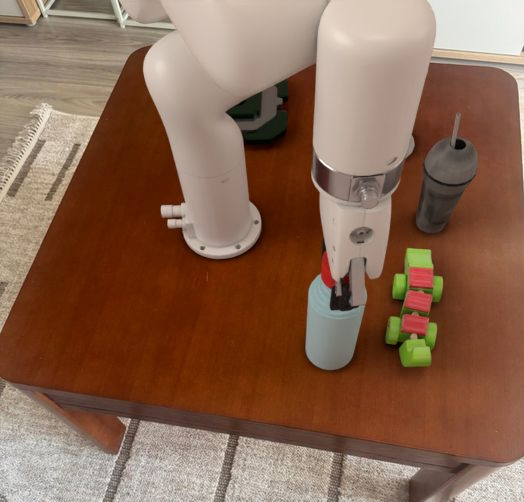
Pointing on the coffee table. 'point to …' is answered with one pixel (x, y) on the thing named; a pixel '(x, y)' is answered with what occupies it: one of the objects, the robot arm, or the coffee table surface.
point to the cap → (329, 273)
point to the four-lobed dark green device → (262, 115)
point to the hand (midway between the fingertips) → (339, 282)
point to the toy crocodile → (415, 309)
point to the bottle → (330, 329)
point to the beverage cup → (445, 180)
